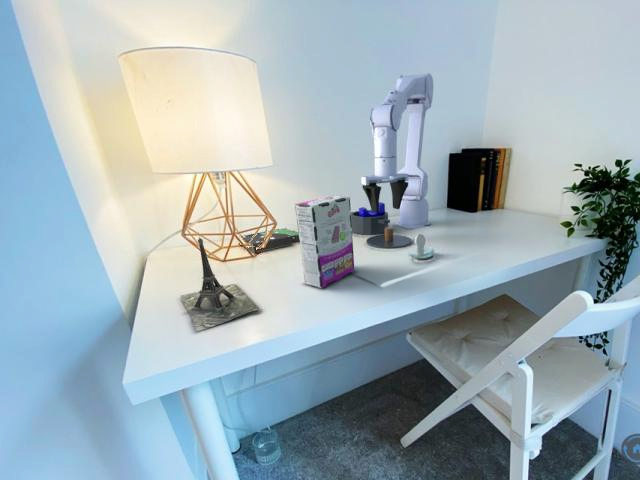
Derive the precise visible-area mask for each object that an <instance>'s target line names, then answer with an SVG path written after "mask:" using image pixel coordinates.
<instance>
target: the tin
mask: <svg viewBox="0 0 640 480" xmlns="http://www.w3.org/2000/svg"><path fill="white" fill-rule="evenodd" d="M367 211H368V212H369V211H371V209H367ZM351 223H352V234H354V235H359V236H377V235H385V227H389V224H390V223H391V219H389V213H388V212H387V211H385V215H383V216H377V217H360V214H359V210H356V211H351Z"/></svg>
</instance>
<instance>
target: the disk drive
mask: <svg viewBox="0 0 640 480" xmlns="http://www.w3.org/2000/svg"><path fill="white" fill-rule="evenodd" d="M274 230H275V231H274V232H273V234H272V236H271V238H270V239H269V241H268V243H267V245H266V247H265V248H261V249H257V250H256V247H259V246H260V245H261V244H262V243H263V242H264V238H265V234H266V231H261V232H256V233H257V235H256V236H255V237H254V238H253V240H252V241H251V242H250V244H251V245H253V246H255V247H249V248H248V247H247V249H248V250H247V249H246V248H244V249H246V250H247V251H249V252H251V253H260V252H265V251H270V250H271V251H272V250H275V249H279V248H282V247H287V246H293V244H295V243H300V240H299V232H298V231H296V230H291V229H288V228H287V227H285V228H277V229H276V228H275V229H274ZM254 234H255V233H250V234H243V235H240V236H241V237H242V238H243V240H244V241H245V242H246V243H249V241H250V240H251V238H252V236H253V235H254ZM237 243H238V242H237ZM237 245H238V246H240V243H238V244H237Z"/></svg>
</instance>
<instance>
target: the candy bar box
mask: <svg viewBox="0 0 640 480" xmlns="http://www.w3.org/2000/svg"><path fill="white" fill-rule="evenodd" d="M294 208H295V209H294V210H295V216H296V222H297V223H296V225H297V232H299V240H300V242H299V246H300V254H301V261H302V269H303V270H302V271H303V279H304V284H305V285H307V286H311V287H314V288H318V289H324V288H326V287H329V286H330V285H332V284H334V283H336V282H337V281H338V282H339V280H341V279H343V278H345V277H347V276H348V275H351V274H353V272H354V271H355V258H354V257H355V256H354V255H355V254H354V241H353V233H352V223H351V212H352V210H351V209H352V208H351V197H350V196H344V195H329V196H325V197H320V198H316V199H312V200H311V199H310V200H308V201H307V200H306V201H302V202H299V203H294Z"/></svg>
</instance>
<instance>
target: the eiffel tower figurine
mask: <svg viewBox="0 0 640 480" xmlns="http://www.w3.org/2000/svg"><path fill="white" fill-rule="evenodd" d="M197 233H198V239H197V243H198V245H199V250H200V257H201V265H202V275H203V276H202V277H201V279H202V286H201V289H200V290H199V291H195V292H191V293H186V294H182V295H180V298H181V301H182V303H183V305H184V308H185V309H186V311H187V313H188V314H189V316H190V318H191V321H192V323H193V325H194V327H195V330H196V332H200V331H203V330H207V329H209V328H212V327H215V326H218V325H221V324H224V323H226V322H229V321H231V320H234V319H236V318H238V317H240V316H243V315H245V314H248V313H249V314H250V313H251V312H254V311H257V310H260V308H259V307H258V305H257V304H256V303H255V302H254V301H253V300H251V299H250V298H249V296H248V295H247V294H245V292H244V291H243V290H241V288H240V287H239V286H238V285H237V284H236V283H232V284H231V283H230V284H227V285H221V284H220V283H219V281H218V279H217V278H216V274H214V272H213V270H212V267H211V265H210V262H209V258H208V255H207V252H206V249H205V246H204V239H203V238H201V236H200V232H197Z"/></svg>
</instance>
